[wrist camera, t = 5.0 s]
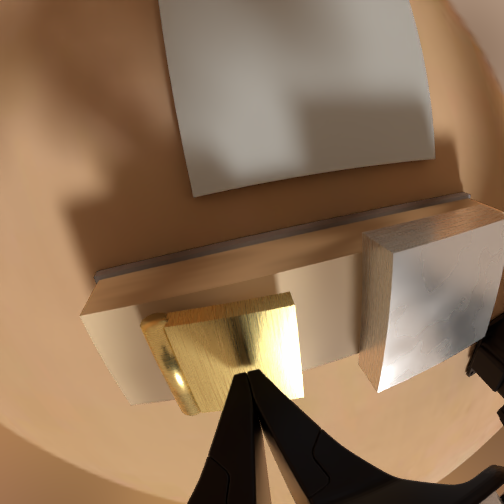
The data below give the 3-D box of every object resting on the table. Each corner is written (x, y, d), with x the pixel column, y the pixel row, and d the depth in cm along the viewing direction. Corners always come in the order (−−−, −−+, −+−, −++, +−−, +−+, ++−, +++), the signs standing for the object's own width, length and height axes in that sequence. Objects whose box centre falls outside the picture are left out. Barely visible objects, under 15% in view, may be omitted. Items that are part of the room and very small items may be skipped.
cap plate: (480, 204, 11) (511, 216, 9) (462, 317, 13) (484, 336, 12) (361, 232, 10) (393, 253, 8) (358, 363, 13) (377, 392, 11)
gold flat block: (143, 315, 10) (289, 289, 10) (182, 398, 11) (299, 380, 11) (136, 332, 9) (295, 306, 9) (180, 416, 10) (304, 398, 10)
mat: (396, -15, 9) (403, -18, 9) (428, 157, 13) (435, 158, 13) (156, -18, 8) (155, -24, 8) (193, 194, 12) (193, 197, 12)
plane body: (463, 192, 15) (506, 207, 11) (456, 271, 17) (491, 295, 14) (97, 271, 13) (72, 312, 9) (136, 359, 15) (128, 408, 11)
